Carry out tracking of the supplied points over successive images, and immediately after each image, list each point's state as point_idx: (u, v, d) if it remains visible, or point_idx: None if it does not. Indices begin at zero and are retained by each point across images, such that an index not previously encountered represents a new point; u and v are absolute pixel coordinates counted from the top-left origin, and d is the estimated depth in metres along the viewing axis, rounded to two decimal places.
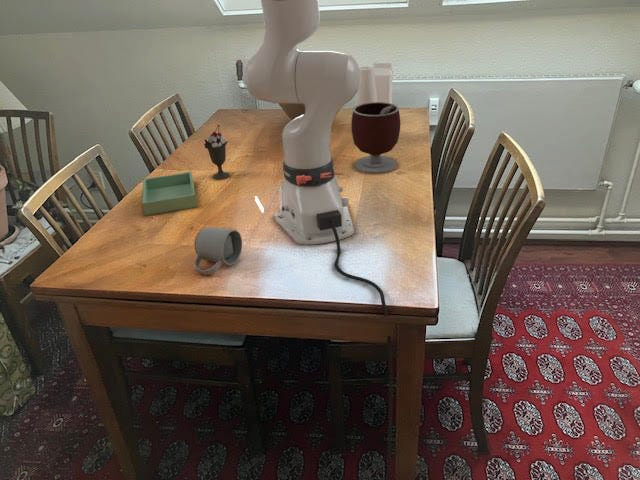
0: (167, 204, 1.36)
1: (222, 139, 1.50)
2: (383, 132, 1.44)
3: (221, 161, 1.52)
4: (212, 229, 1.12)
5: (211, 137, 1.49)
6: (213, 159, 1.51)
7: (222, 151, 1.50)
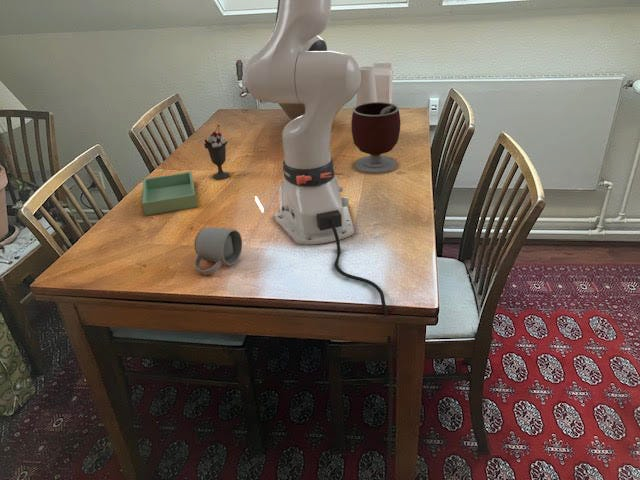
0: (167, 204, 1.36)
1: (222, 139, 1.50)
2: (383, 132, 1.44)
3: (221, 161, 1.52)
4: (212, 229, 1.12)
5: (211, 137, 1.49)
6: (213, 159, 1.51)
7: (222, 151, 1.50)
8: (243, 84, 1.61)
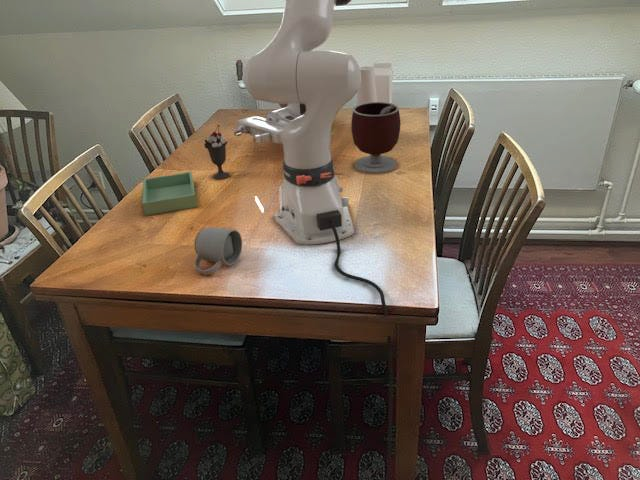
0: (167, 204, 1.36)
1: (222, 139, 1.50)
2: (383, 132, 1.44)
3: (221, 161, 1.52)
4: (212, 229, 1.12)
5: (211, 137, 1.49)
6: (213, 159, 1.51)
7: (222, 151, 1.50)
8: (239, 124, 1.65)
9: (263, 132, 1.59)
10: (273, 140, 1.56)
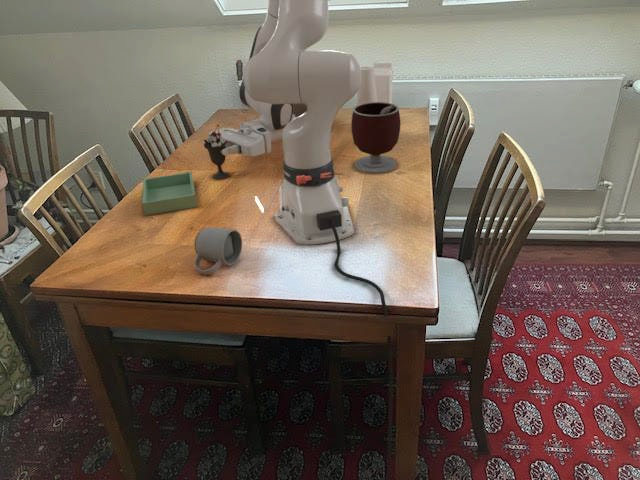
0: (167, 204, 1.36)
1: (222, 139, 1.50)
2: (383, 132, 1.44)
3: (221, 161, 1.52)
4: (212, 229, 1.12)
5: (211, 137, 1.49)
6: (213, 159, 1.51)
7: None
8: None
9: (234, 145, 1.53)
10: (244, 153, 1.49)
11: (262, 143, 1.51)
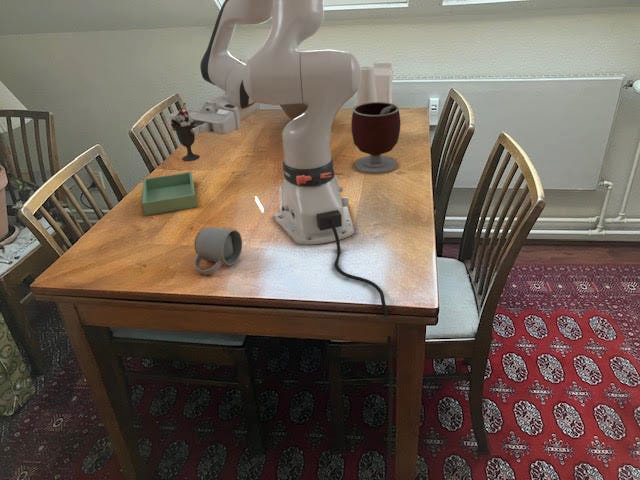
0: (167, 204, 1.36)
1: (190, 117, 1.42)
2: (383, 132, 1.44)
3: (191, 141, 1.43)
4: (212, 229, 1.12)
5: (178, 116, 1.40)
6: (182, 140, 1.42)
7: None
8: (172, 118, 1.49)
9: (202, 124, 1.45)
10: (216, 131, 1.42)
11: (233, 119, 1.44)
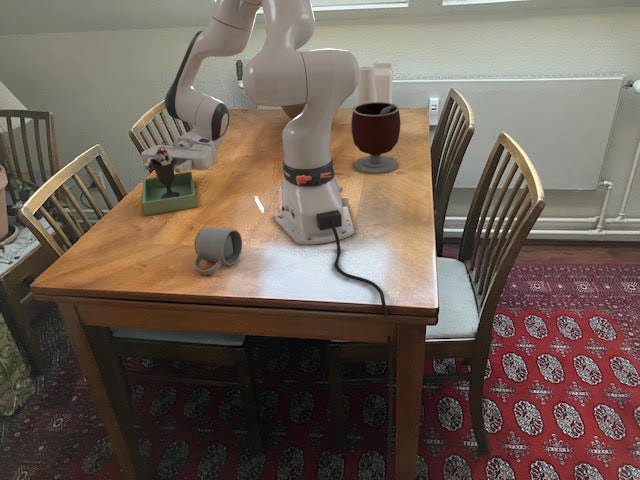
0: (167, 204, 1.36)
1: (169, 156, 1.39)
2: (383, 132, 1.44)
3: (172, 179, 1.41)
4: (212, 229, 1.12)
5: (158, 155, 1.37)
6: (163, 179, 1.39)
7: (172, 168, 1.39)
8: (144, 157, 1.45)
9: (180, 160, 1.43)
10: (197, 167, 1.41)
11: (211, 153, 1.44)
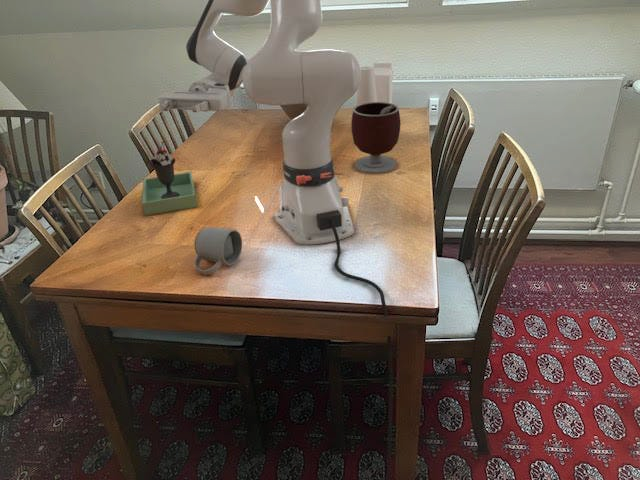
0: (167, 204, 1.36)
1: (169, 156, 1.39)
2: (383, 132, 1.44)
3: (172, 179, 1.41)
4: (212, 229, 1.12)
5: (158, 155, 1.37)
6: (163, 179, 1.39)
7: (172, 168, 1.39)
8: (161, 100, 1.49)
9: (196, 102, 1.47)
10: (213, 108, 1.45)
11: (227, 96, 1.48)
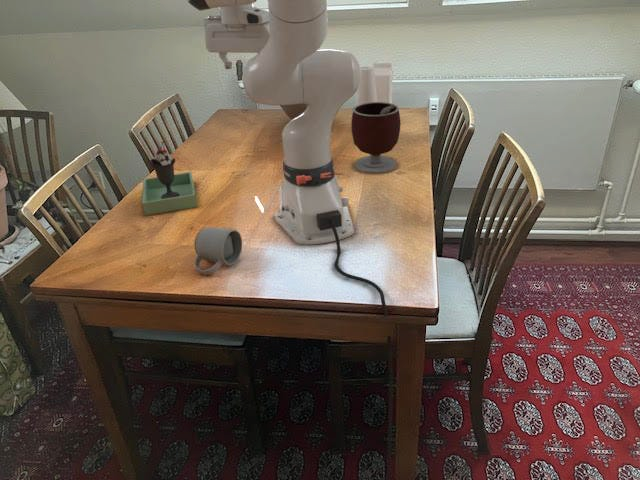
0: (167, 204, 1.36)
1: (169, 156, 1.39)
2: (383, 132, 1.44)
3: (172, 179, 1.41)
4: (212, 229, 1.12)
5: (158, 155, 1.37)
6: (163, 179, 1.39)
7: (172, 168, 1.39)
8: (212, 51, 1.45)
9: None
10: None
11: None
